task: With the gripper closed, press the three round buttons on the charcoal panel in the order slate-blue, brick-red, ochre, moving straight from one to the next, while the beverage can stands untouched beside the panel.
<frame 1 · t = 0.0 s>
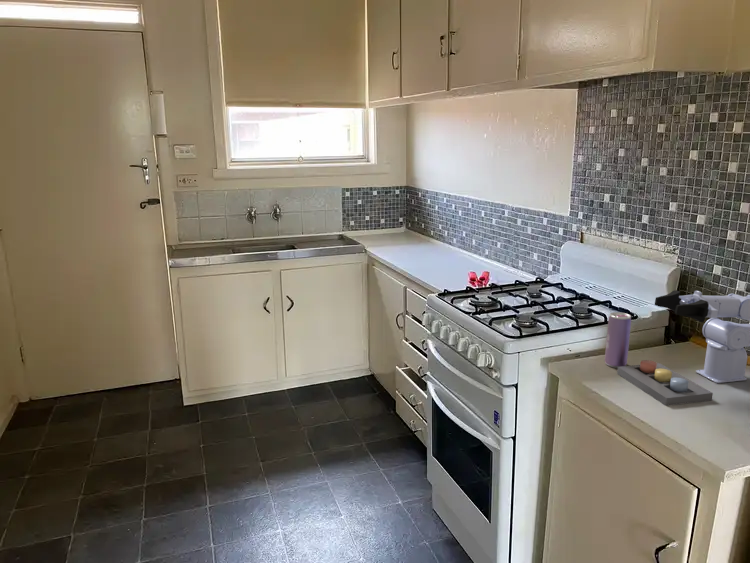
hand: (665, 305, 147), 22 cm above the worktop, tool horizontal, fingers open, 7 cm apart
brick button: (648, 366, 155), point 3 cm above the worktop, slide at 0.0 cm
beverage can: (615, 365, 165), on the worktop
slate button: (679, 384, 144), point 3 cm above the worktop, slide at 0.0 cm
ochre button: (663, 375, 150), point 3 cm above the worktop, slide at 0.0 cm
panel: (661, 386, 151), on the worktop
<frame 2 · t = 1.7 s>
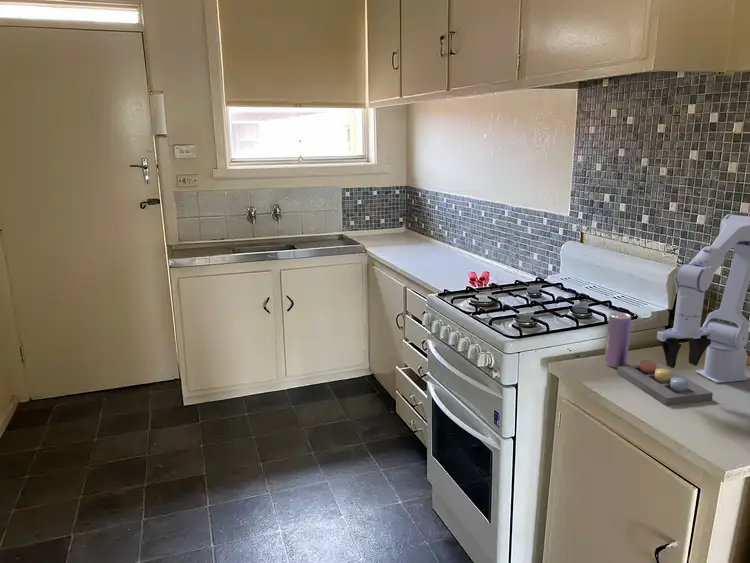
hand: (681, 365, 143), 8 cm above the worktop, tool pointing down, fingers open, 6 cm apart
nothing on the worktop moved.
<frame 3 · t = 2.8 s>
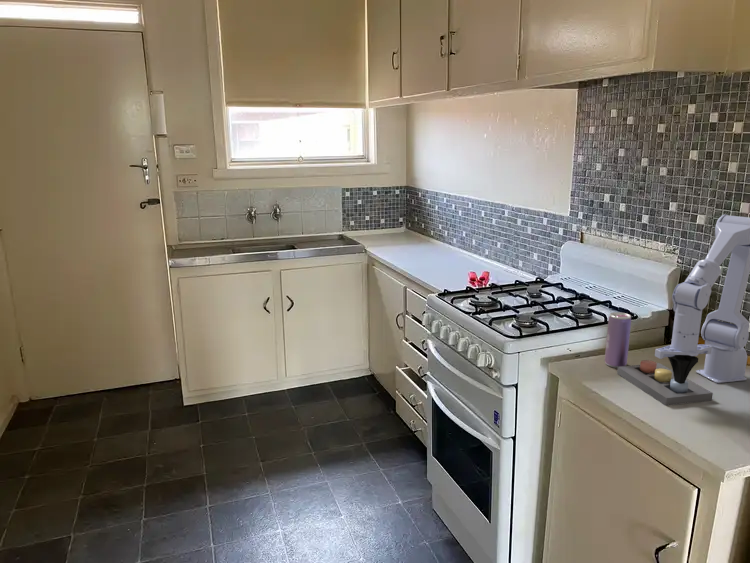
hand: (679, 382, 144), 4 cm above the worktop, tool pointing down, fingers closed, pressing on slate button
slate button: (679, 385, 144), point 3 cm above the worktop, slide at 0.3 cm, touching gripper
everything else where it was.
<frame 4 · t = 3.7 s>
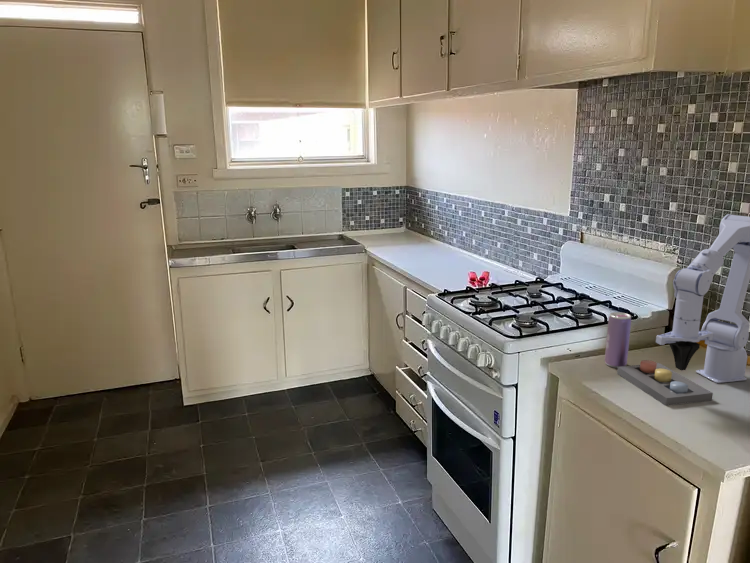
hand: (680, 368, 143), 7 cm above the worktop, tool pointing down, fingers closed
slate button: (678, 388, 144), point 2 cm above the worktop, slide at 1.0 cm
everything else where it was.
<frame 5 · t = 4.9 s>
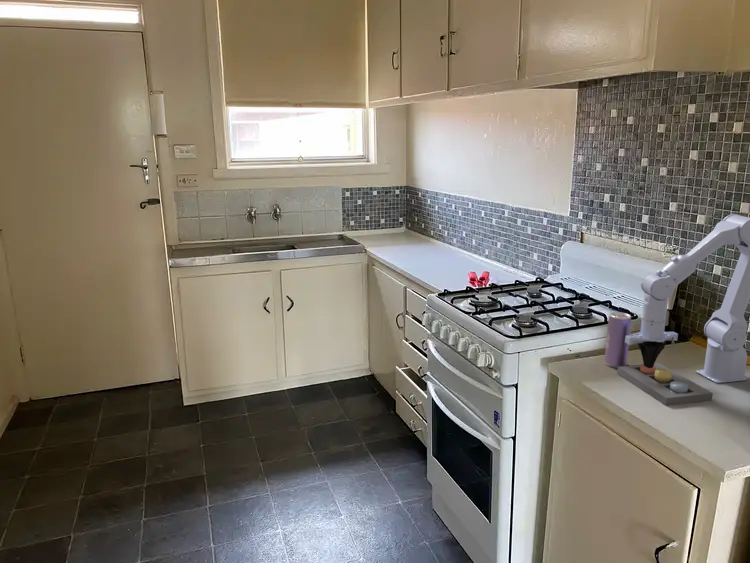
hand: (648, 366, 155), 3 cm above the worktop, tool pointing down, fingers closed, pressing on brick button
brick button: (647, 370, 156), point 2 cm above the worktop, slide at 1.0 cm, touching gripper
everything else where it was.
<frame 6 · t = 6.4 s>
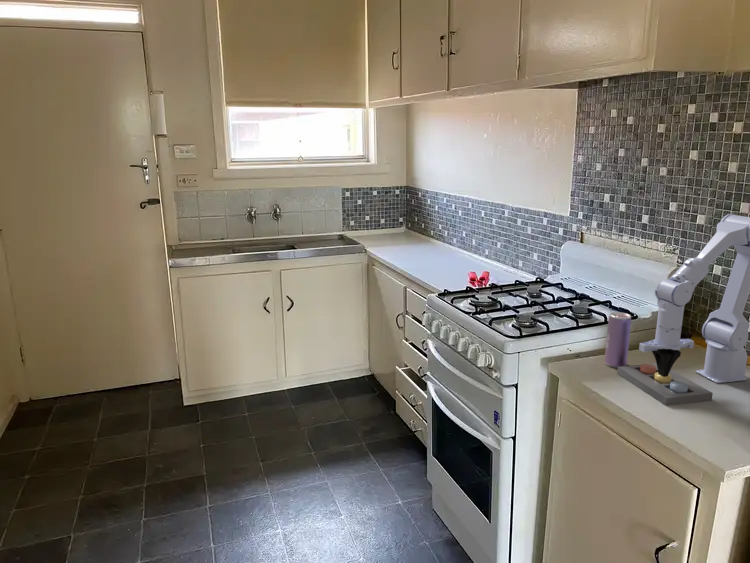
hand: (663, 375, 150), 3 cm above the worktop, tool pointing down, fingers closed, pressing on ochre button
brick button: (647, 370, 156), point 2 cm above the worktop, slide at 1.0 cm
ochre button: (662, 378, 150), point 2 cm above the worktop, slide at 1.0 cm, touching gripper
everything else where it was.
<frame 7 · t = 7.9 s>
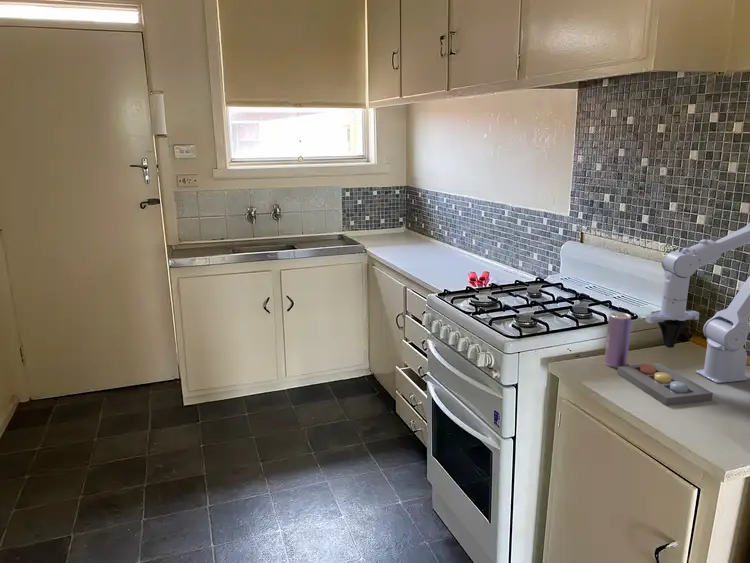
hand: (668, 346, 153), 9 cm above the worktop, tool pointing down, fingers closed
ochre button: (662, 379, 150), point 2 cm above the worktop, slide at 1.0 cm
everything else where it was.
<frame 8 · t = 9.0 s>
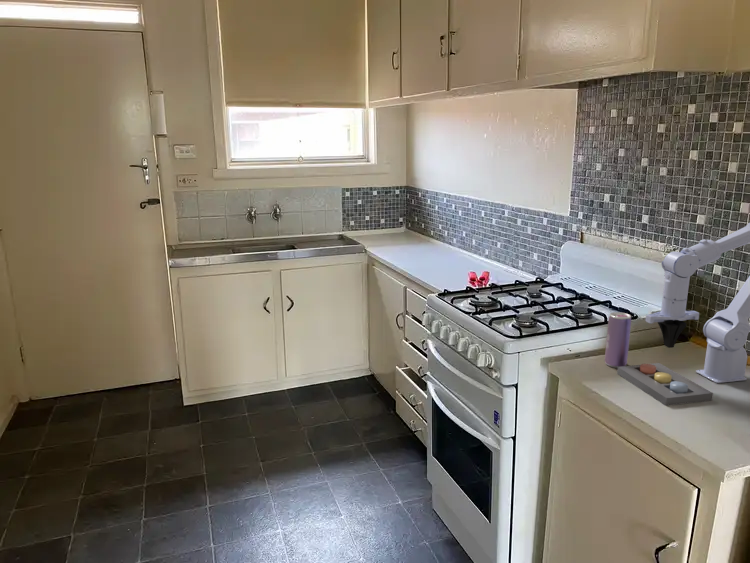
hand: (668, 346, 153), 9 cm above the worktop, tool pointing down, fingers closed
nothing on the worktop moved.
at the end: slate button slide at 1.0 cm; brick button slide at 1.0 cm; ochre button slide at 1.0 cm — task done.
